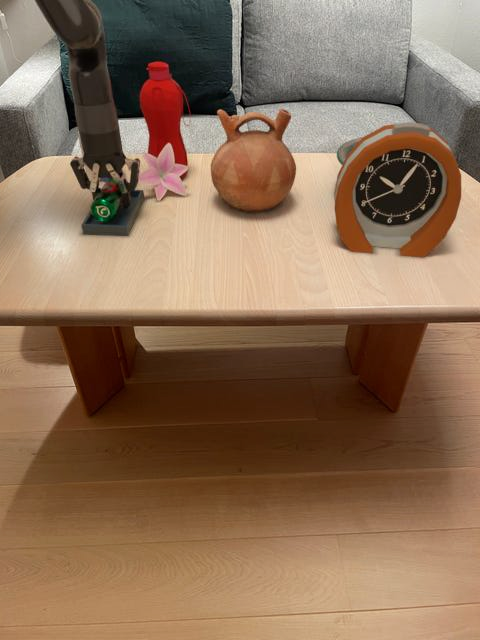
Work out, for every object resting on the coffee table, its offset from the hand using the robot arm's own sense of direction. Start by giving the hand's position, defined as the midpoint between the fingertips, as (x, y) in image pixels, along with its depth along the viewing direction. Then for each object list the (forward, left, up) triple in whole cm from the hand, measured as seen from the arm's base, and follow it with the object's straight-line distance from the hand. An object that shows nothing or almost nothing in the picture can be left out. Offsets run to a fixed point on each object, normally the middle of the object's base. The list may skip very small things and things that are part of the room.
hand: (113, 206), depth 100 cm
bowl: (+37, -49, -2) cm, 62 cm away
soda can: (-7, -3, +2) cm, 8 cm away
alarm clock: (+18, -54, -2) cm, 57 cm away
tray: (0, 0, -2) cm, 2 cm away
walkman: (+13, +14, -2) cm, 19 cm away
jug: (+20, -23, -2) cm, 31 cm away
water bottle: (+23, +1, -2) cm, 23 cm away
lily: (+14, -3, -2) cm, 15 cm away
